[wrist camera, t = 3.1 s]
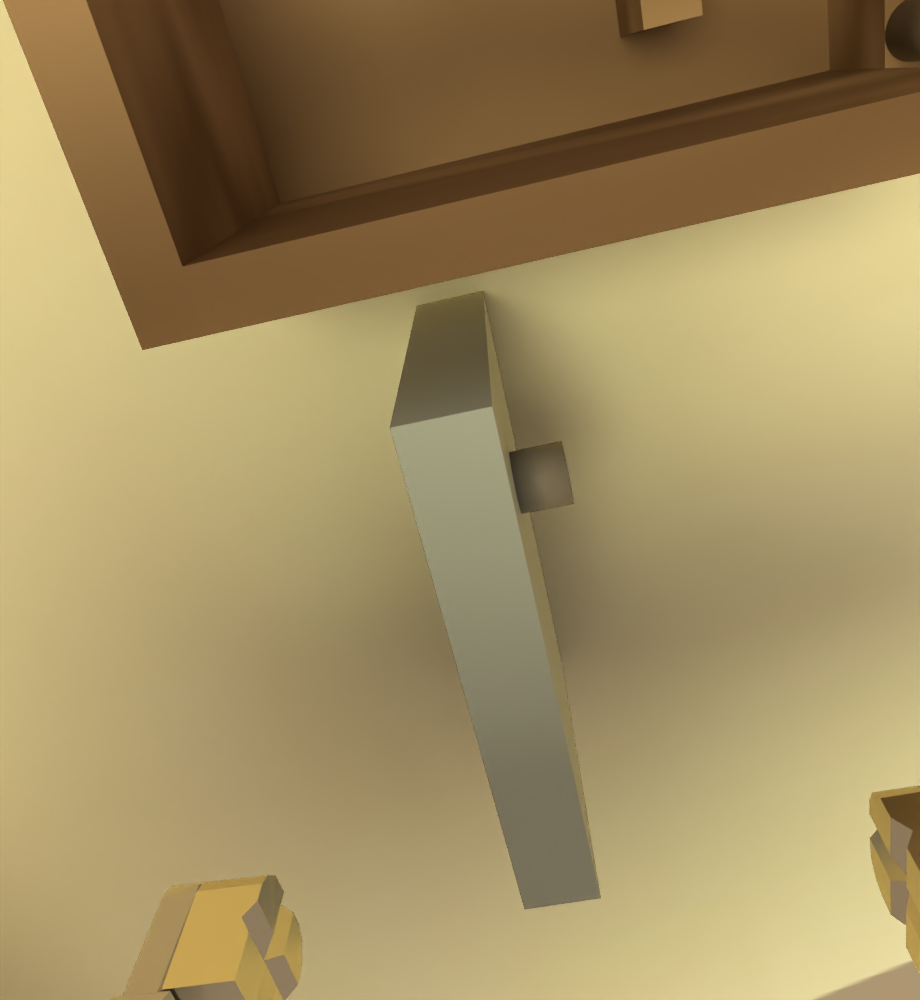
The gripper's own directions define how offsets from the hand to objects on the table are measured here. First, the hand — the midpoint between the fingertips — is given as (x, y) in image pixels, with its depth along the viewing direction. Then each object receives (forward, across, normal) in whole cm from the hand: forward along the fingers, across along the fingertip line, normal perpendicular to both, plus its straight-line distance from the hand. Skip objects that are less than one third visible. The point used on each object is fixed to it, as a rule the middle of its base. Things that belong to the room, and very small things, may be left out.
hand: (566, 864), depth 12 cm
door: (+12, +1, 0) cm, 12 cm away
